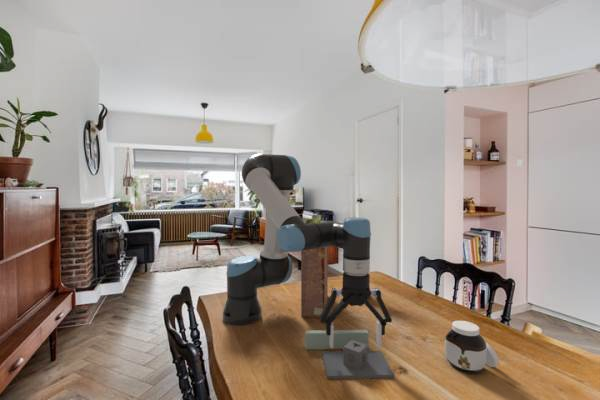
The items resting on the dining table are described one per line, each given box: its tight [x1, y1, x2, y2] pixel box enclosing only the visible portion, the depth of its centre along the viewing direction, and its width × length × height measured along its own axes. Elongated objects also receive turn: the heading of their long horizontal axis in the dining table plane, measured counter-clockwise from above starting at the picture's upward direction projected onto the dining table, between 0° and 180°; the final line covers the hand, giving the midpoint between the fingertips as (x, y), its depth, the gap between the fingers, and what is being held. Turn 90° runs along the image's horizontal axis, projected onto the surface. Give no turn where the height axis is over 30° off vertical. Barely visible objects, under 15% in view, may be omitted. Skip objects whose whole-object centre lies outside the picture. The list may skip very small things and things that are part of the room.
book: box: [300, 247, 329, 318], centre depth 130 cm, size 25×9×30 cm, turn 172°
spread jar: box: [444, 320, 500, 374], centre depth 85 cm, size 12×11×12 cm
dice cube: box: [342, 340, 368, 370], centre depth 85 cm, size 5×5×5 cm
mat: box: [322, 350, 395, 380], centre depth 85 cm, size 18×12×1 cm, turn 91°
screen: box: [304, 329, 370, 350], centre depth 95 cm, size 20×2×5 cm, turn 91°
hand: (355, 345), depth 86 cm, fingers open, 13 cm apart
